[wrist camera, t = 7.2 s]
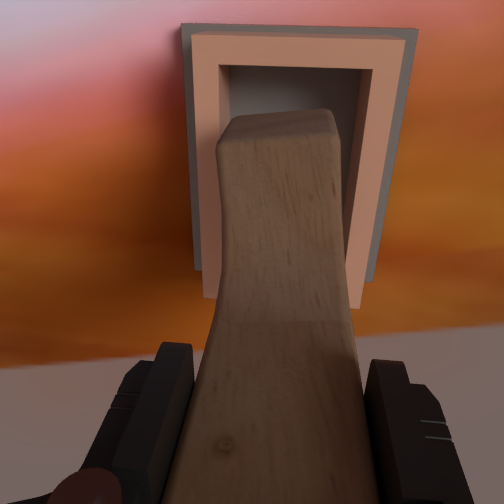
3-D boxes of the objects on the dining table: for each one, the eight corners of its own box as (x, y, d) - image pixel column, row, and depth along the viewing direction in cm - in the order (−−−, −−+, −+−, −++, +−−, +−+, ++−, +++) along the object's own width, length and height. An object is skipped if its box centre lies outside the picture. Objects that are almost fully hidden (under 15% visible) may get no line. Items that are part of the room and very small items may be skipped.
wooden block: (230, 114, 19) (-67, 564, 4) (333, 105, 19) (486, 601, 3) (250, 284, 24) (152, 821, 8) (335, 281, 23) (405, 857, 7)
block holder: (414, 28, 23) (438, 32, 19) (370, 274, 30) (380, 314, 26) (185, 22, 23) (162, 26, 20) (197, 262, 31) (182, 300, 27)
